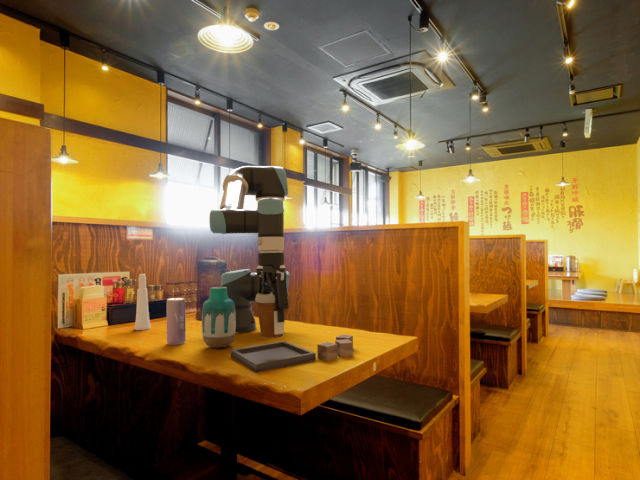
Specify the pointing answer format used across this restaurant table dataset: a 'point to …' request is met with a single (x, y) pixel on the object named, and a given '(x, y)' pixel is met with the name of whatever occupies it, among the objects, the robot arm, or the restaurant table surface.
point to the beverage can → (176, 321)
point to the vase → (218, 319)
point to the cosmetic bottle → (142, 306)
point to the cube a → (327, 351)
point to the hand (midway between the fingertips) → (272, 331)
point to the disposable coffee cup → (267, 314)
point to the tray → (272, 356)
